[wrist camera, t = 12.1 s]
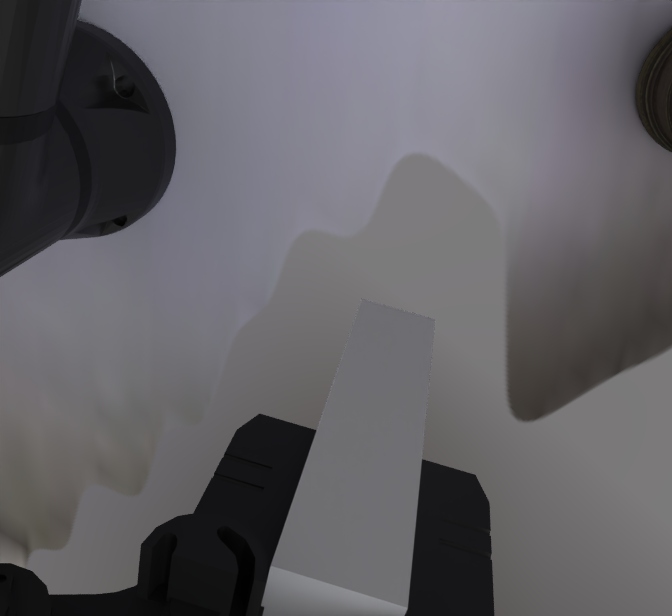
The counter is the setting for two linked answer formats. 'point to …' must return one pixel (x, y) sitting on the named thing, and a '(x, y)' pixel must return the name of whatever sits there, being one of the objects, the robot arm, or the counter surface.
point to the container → (657, 93)
